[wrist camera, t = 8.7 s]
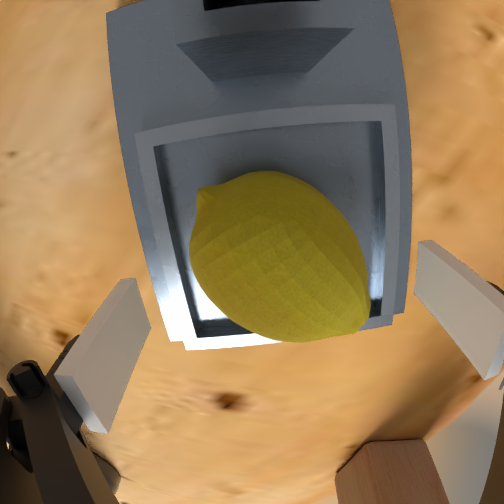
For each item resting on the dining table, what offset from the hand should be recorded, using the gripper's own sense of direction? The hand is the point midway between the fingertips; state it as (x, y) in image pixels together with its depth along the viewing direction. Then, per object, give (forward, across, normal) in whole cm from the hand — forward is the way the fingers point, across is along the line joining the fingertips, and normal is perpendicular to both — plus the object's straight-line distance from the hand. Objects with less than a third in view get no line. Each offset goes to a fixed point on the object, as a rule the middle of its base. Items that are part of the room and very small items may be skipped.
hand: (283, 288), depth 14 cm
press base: (+8, 0, +5) cm, 9 cm away
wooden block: (+8, +12, -33) cm, 36 cm away
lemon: (+7, 0, 0) cm, 7 cm away
